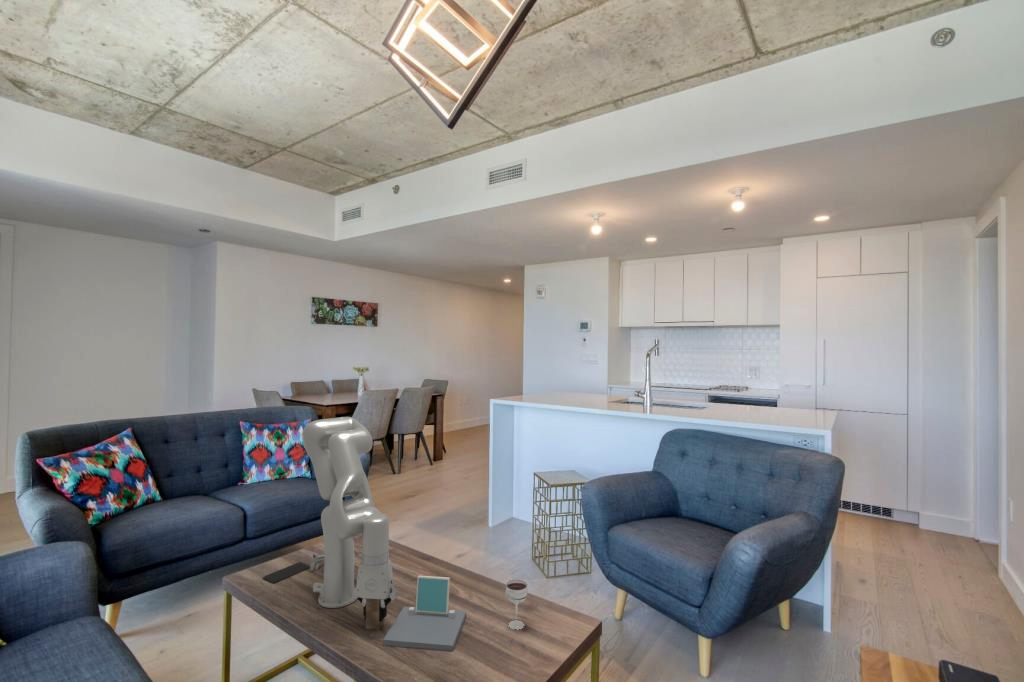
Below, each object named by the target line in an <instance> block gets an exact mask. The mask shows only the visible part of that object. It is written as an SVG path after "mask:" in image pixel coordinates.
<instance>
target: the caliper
mask: <svg viewBox="0 0 1024 682" xmlns="http://www.w3.org/2000/svg"><path fill="white" fill-rule="evenodd" d="M322 563H323V564H324V554H321V555H319V553H313V554H312V557H311V559H310V563H309V566H310V568H309V572H311V573H313V572H314V571H317V570H319V569H318V568H319V566H320V564H322Z"/></svg>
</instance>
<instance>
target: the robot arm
mask: <svg viewBox="0 0 1024 682" xmlns="http://www.w3.org/2000/svg"><path fill="white" fill-rule="evenodd" d="M302 431H303V432H302V443H303V446H304V449H305V452H306V454H307V455H308V457H309V459H310V462H311V464H312V467H313V470H314V475H315V479H316V484H317V487H318V492H319V495H320V496H321V498H322V499H323V500H325V501H329V505H327V506H326V507H325V508H323V510H322V511H321V514H320V521H321V523H320V524H321V527H322V534H323V535H322V536H323V555H324V563H323V582H314V583H313V586H312V588H313V589H312V592H313V593H319V595H318V598H317V601H318V604H319V605H320V606H321V607H323V608H327V609H337V608H342V607H346V606H348V605H351V604H352V603H354V602H355V601H356V600H358V601H359V603H361V607H362V610H363V611H362V615H363V617H364V621H366V599H379V600H380V603H381V607H380V615H379V621H380V622H382V620H383V619H384V620H385V618H386V617H387V614H388V613H387V611H388V609H387V608H388V607H387V606H388V605H389V604H390V603H391V602H392V601H394V600H396V599H397V598H398V596H399V593H398V592H397V590H396V588H395V587H394V573H393V567H392V561H391V559H389V557H390V556H389V552H390V551H389V548H390V547H389V545H390V544H389V541H390V539H389V538H390V536H389V535H390V519H389V516H387V514H385V513H382V512H381V511H380V510H379V509H378V508H377V507H375V503H374V499H373V495H372V491H371V488H370V484H369V480H368V477H367V475H366V472H365V470H364V468H363V464H362V460H361V457H360V455H361V454H367V453H369V452H370V451H371V450H372V449H373V437H372V434H371V433H370V431H369V430H368V429H367V428H366V427H365V425H363V424H362V423H360V422H359V421H358V420H357V419H356V418H354V417H351V416H341V417H331V418H323V419H317V420H313V421H310V422H308V423H307V424H306V425H305V426H304V428H303V430H302ZM349 496H351V497H352V498H350V499H345V500H344V499H343V498H345V497H349ZM361 535H362V551H359V552H358V555H357V556H358V558H361V561H360V562H359V564H358V565H359V566H358V569H357V577H356V584H355V552H354V551H355V541H354V539H353V538H356V537H359V536H361Z"/></svg>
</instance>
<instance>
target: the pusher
mask: <svg viewBox="0 0 1024 682" xmlns="http://www.w3.org/2000/svg"><path fill="white" fill-rule="evenodd" d="M380 607H381V603H380V600H379V599H366V620H365V629H366V630H374V631H375V630H378V631H379V630H380V629H381V628H382V626H383V624H384V623H385V618H384V619H383V620H382V622H380V621H379V615H380Z"/></svg>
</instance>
